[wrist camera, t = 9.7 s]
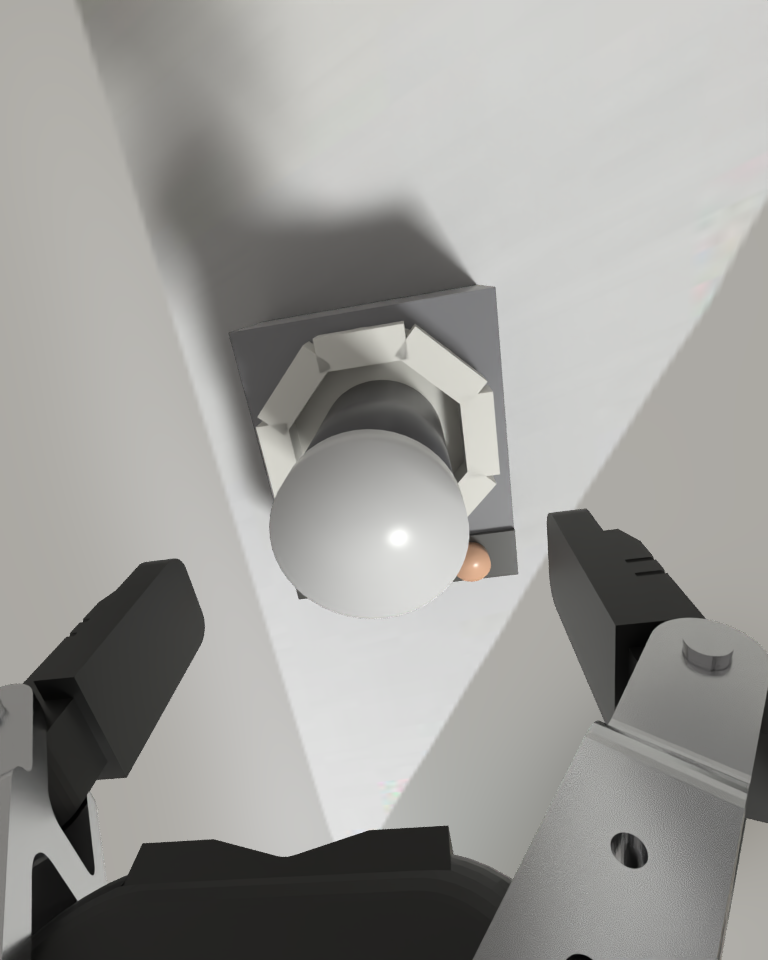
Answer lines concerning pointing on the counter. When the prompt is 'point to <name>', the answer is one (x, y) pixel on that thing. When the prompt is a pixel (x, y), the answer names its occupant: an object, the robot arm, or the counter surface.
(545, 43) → the counter surface
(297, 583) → the dark capped cylinder
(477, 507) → the block with octagonal ring
